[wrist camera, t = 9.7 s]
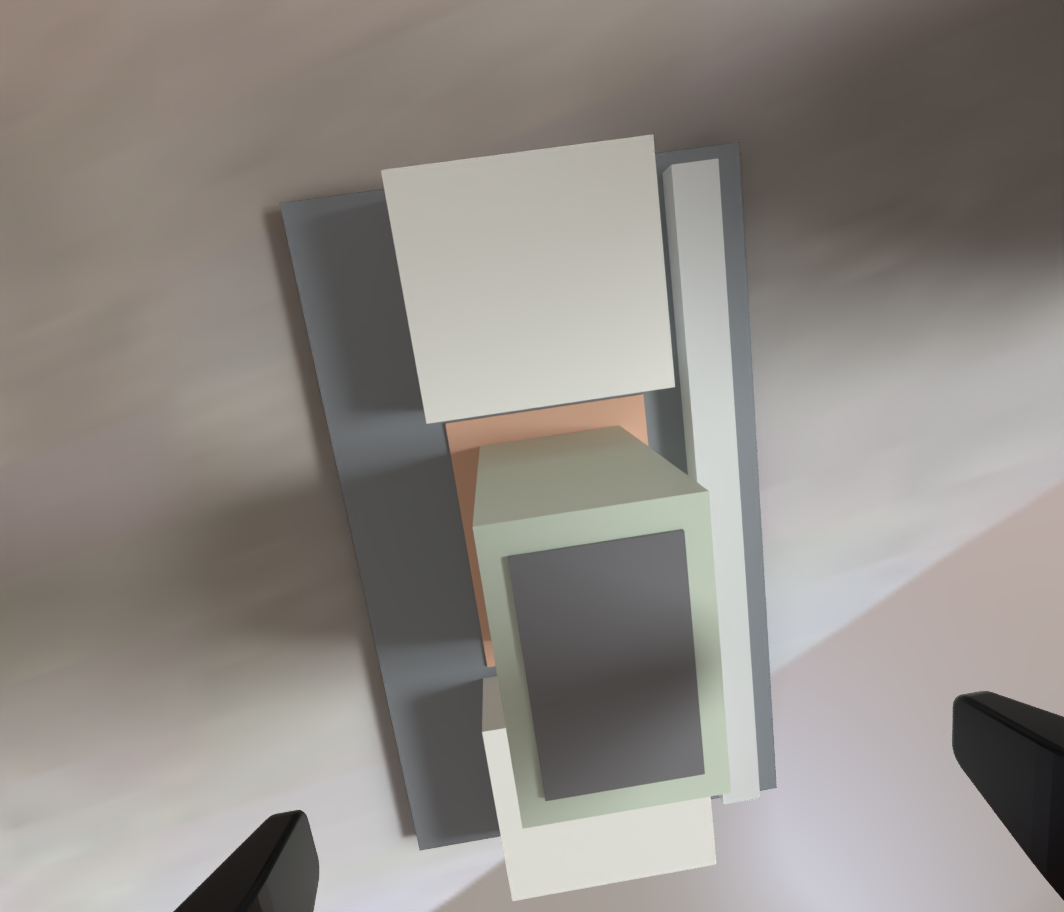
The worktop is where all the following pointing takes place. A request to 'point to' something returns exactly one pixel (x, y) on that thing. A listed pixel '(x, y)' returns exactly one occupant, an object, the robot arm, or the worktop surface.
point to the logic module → (601, 624)
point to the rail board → (530, 412)
